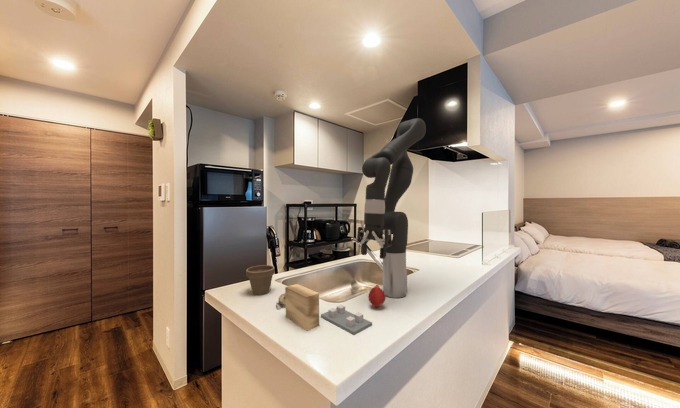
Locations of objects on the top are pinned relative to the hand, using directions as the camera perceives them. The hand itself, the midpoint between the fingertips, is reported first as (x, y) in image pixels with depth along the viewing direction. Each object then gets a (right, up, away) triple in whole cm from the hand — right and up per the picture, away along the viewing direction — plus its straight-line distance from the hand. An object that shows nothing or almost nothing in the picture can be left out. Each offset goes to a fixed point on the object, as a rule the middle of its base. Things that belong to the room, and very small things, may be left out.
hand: (372, 256), depth 92 cm
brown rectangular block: (-24, -18, -13) cm, 33 cm away
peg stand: (-10, -18, -13) cm, 24 cm away
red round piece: (+1, -18, -3) cm, 18 cm away
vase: (-32, -18, -1) cm, 37 cm away
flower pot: (-45, -18, +13) cm, 50 cm away
